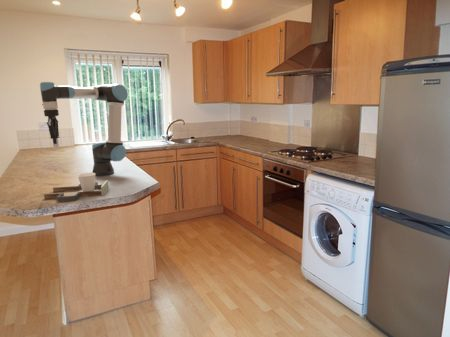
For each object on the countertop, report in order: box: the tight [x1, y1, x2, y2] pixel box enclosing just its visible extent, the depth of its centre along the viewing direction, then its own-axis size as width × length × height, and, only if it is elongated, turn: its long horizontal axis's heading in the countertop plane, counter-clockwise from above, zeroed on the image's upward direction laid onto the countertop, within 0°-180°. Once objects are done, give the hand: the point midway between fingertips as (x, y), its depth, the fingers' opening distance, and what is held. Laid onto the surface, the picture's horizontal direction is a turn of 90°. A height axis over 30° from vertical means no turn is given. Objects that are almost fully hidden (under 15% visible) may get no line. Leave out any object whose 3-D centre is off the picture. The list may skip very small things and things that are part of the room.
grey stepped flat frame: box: [43, 184, 103, 200], centre depth 195 cm, size 15×31×2 cm, turn 99°
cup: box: [77, 172, 96, 192], centre depth 195 cm, size 10×10×11 cm
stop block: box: [100, 179, 110, 196], centre depth 197 cm, size 15×1×5 cm, turn 9°
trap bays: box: [56, 181, 99, 203], centre depth 195 cm, size 30×15×2 cm, turn 9°
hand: (56, 149), depth 198 cm, fingers closed
